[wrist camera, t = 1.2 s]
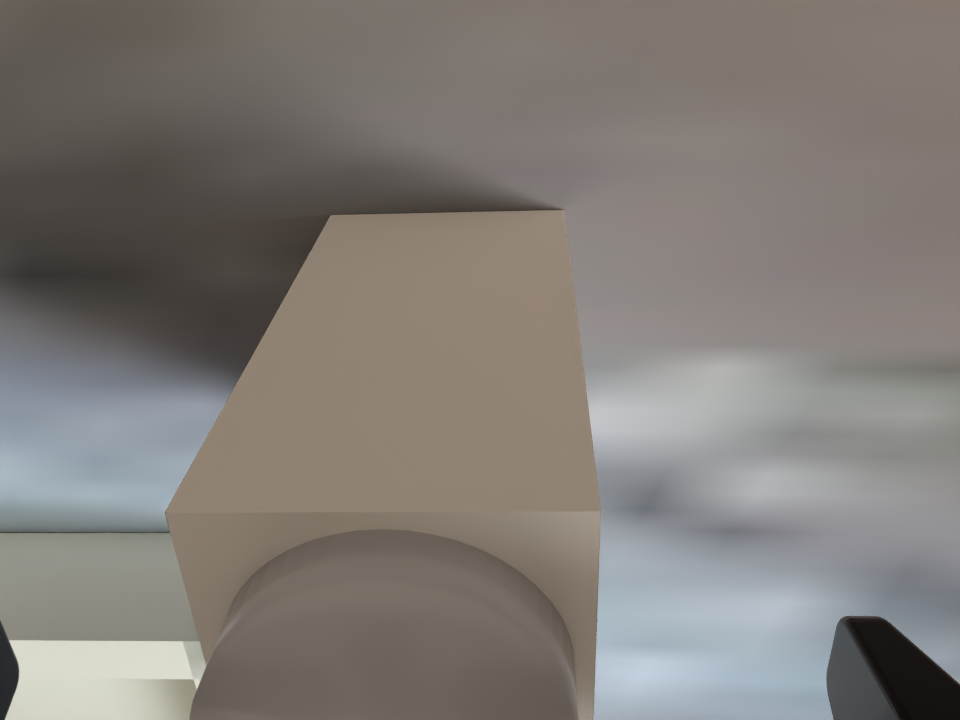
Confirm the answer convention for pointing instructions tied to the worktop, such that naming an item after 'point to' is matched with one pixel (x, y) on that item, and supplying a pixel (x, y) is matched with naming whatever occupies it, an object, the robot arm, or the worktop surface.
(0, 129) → the worktop surface
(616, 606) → the worktop surface
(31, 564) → the tray
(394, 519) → the cream block
